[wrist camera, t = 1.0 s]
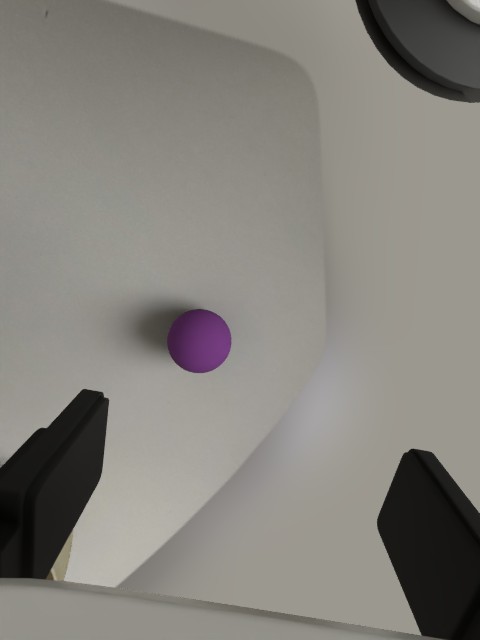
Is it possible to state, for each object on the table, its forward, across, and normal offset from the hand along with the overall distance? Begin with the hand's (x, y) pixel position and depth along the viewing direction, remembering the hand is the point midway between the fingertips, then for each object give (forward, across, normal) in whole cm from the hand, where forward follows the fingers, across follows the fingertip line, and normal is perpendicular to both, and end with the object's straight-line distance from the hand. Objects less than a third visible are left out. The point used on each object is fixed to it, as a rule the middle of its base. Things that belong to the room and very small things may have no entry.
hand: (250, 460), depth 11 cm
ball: (+16, +3, +2) cm, 16 cm away
